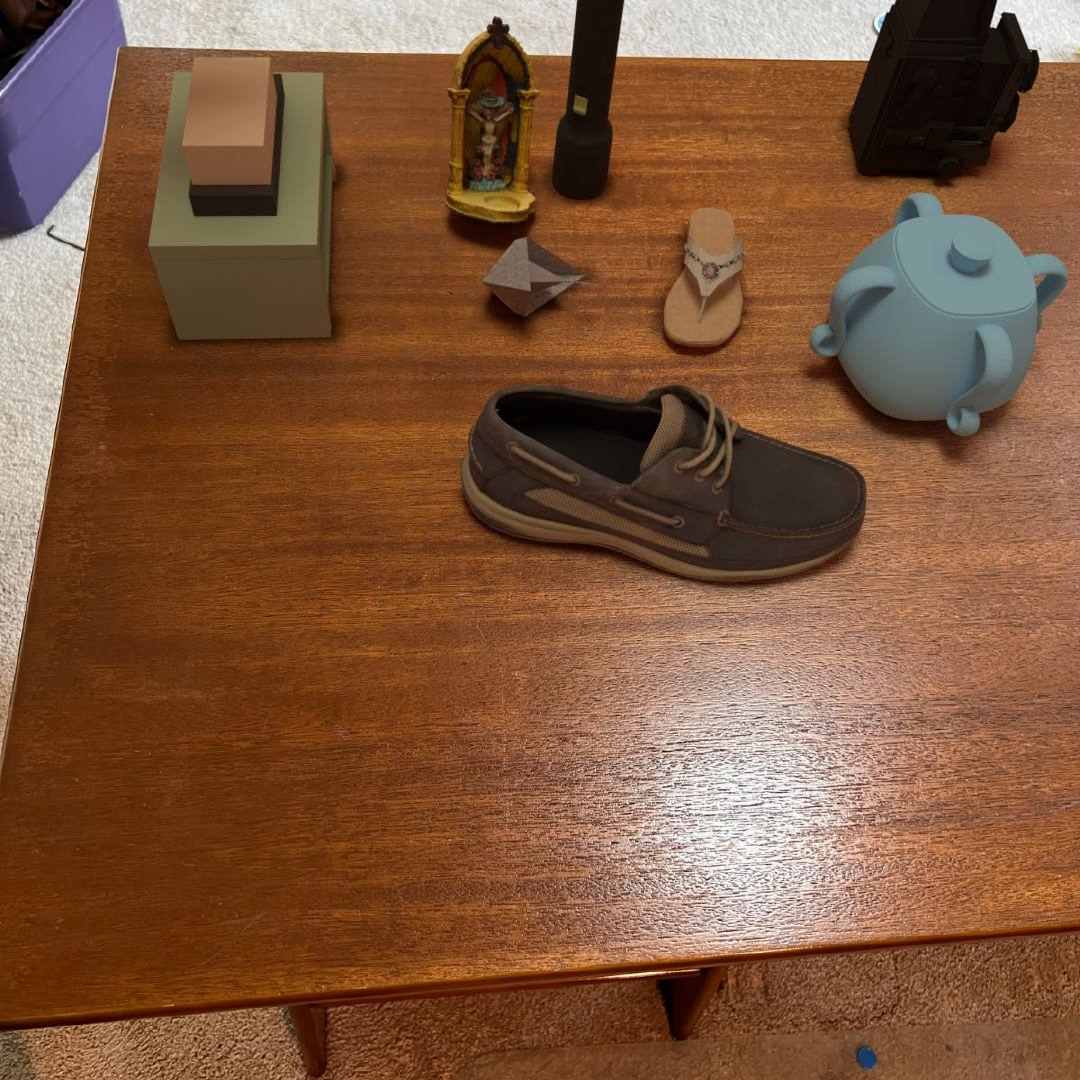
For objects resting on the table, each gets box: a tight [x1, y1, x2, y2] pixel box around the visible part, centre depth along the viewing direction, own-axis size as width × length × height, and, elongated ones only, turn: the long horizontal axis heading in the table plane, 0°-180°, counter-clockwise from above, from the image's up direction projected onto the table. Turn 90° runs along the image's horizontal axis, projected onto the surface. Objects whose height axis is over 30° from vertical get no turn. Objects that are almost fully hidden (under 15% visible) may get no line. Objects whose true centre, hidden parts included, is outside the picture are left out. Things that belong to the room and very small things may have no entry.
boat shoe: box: [460, 383, 868, 583], centre depth 75 cm, size 11×29×11 cm, turn 86°
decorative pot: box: [808, 192, 1069, 437], centre depth 84 cm, size 16×16×14 cm
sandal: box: [662, 207, 746, 348], centre depth 90 cm, size 7×16×5 cm, turn 175°
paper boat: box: [481, 236, 596, 318], centre depth 88 cm, size 12×6×9 cm
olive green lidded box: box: [147, 71, 336, 341], centre depth 87 cm, size 20×12×10 cm, turn 5°
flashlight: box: [551, 0, 625, 201], centre depth 89 cm, size 5×24×5 cm
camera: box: [848, 0, 1041, 179], centre depth 95 cm, size 10×14×20 cm
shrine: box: [444, 15, 541, 224], centre depth 90 cm, size 12×8×15 cm
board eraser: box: [182, 56, 285, 216], centre depth 81 cm, size 14×6×6 cm, turn 5°
